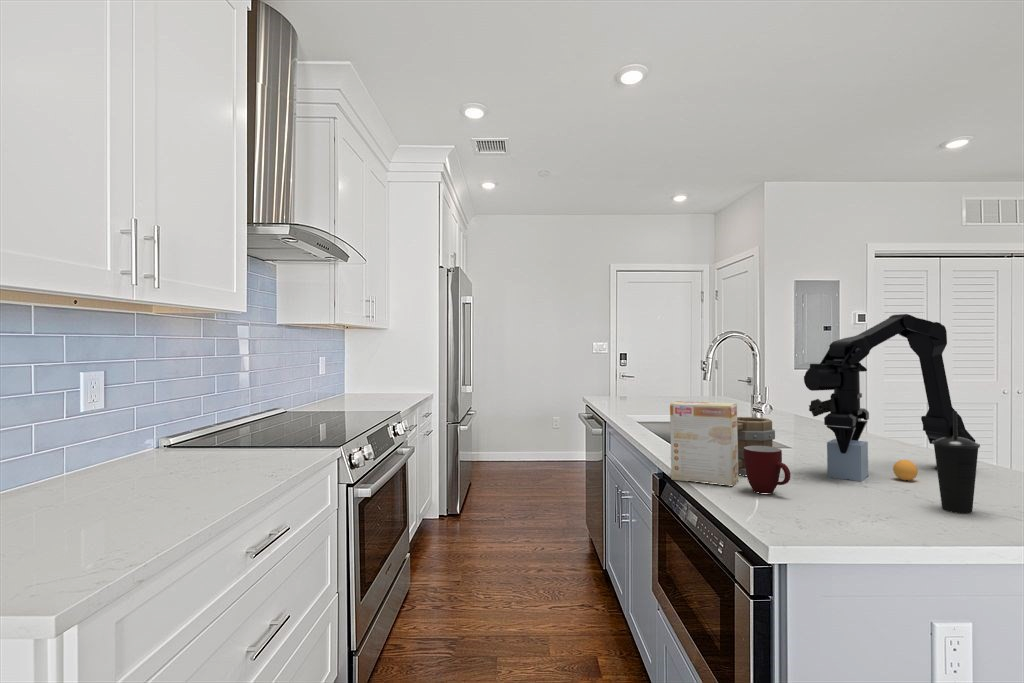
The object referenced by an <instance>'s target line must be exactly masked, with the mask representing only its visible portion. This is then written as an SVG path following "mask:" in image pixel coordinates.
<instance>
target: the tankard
mask: <svg viewBox="0 0 1024 683" xmlns="http://www.w3.org/2000/svg"><path fill="white" fill-rule="evenodd" d="M737 436H738V474H741V475H740V476H742V475H747V474H746V468H745V463H744V447H746V446H769V447H773V440H775V439H776V430H775V429H773V421H772V420H771V419H769V418H765V417H755V416H737Z"/></svg>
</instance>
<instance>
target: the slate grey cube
mask: <svg viewBox="0 0 1024 683" xmlns="http://www.w3.org/2000/svg"><path fill="white" fill-rule="evenodd" d="M826 452H827V453H826V454H827V455H826V456H827V457H826V460H827V470H826V471H827V478H832V477H834V478H833V479H839V478H841V480H847V479H850V480H849V481H854V480H857V481H856V482H861V481H862V480H863V479H864V480H866V479H867V478H868V477H869V441H866V440H865V441H864V440H858V441H855V440H851V442H850V444H849V447H848V450H847V452H846V453H845V454H843V453H841V452H840V449H839V446H838V443H837V439H836V438H834V439H831V440H829V441H826ZM867 476H868V477H867ZM866 477H867V478H866ZM864 480H863V481H864ZM863 481H862V482H863Z"/></svg>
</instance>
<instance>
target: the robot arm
mask: <svg viewBox="0 0 1024 683" xmlns="http://www.w3.org/2000/svg"><path fill="white" fill-rule="evenodd" d="M898 335H899V336H901V337H902V338H905V339H907V342H908V344H909V347H910V349H911V350H912V351H913V352H914V353H915V354H916V355H917V356H918V359H919V364H920V369H921V375H922V379H923V384H924V390H925V396H926V400H927V404H928V405H927V407H928V410H927V411H926V414H925V415H921V418H920V419H921V423H922V431H924V432H925V435H926V436H927V439H928V442H929V444H931V445H933V444H932V441H933V440H937V439H939V438H942V437H949V436H953V411H956V410H955V408H954V407H953V405H952V400H951V395H950V389H949V386H948V385H949V384H948V378H947V374H946V369H945V363H944V358H943V353H944V351H945V349H946V346H947V345H948V336H947V335H948V334H947V328H946V326H945V325H943V324H942V323H940V322H938V321H931V320H927V319H923V318H919V317H916V316H914V315H912V314H908V313H903V314H902V313H901V314H893V315H890V316H889V317H888V318H886V319H885V320H883V321H881V322H880V323H878V324H875V325H874V326H872V327H870V328H868V329H866V330H864V331H862V332H861V333H859V334H857V335H854V336H848V337H843V338H841V339H837V340H833V341H832V342H831V343H830V344H829V348H828V350H827V352H826V353H825V355H824V357H823V358H822V360H821V362H820V363H810V364H809V369H807V370H806V372H805V374H804V376H803V382H804V385H805V387H806V388H807V389H808V390H809V391H815V392H817V391H833V393H831V394H830V399H827V400H821V399H819V398H816V399H813V400H811V401H810V404H808V407H809V408H808V411H809V412H811V414H812V417H814V418H815V417H818V416H820V415H823V414H826V415H825V416H824V417H823V420H824V425H825V426H826V428H828V429H829V430H830V431H832V432H833V434H834V436H835V439H837V443H838V446H839V449H840V452H841V453H843V454H845V453H846V452H847V450H848V447H849V444H850V442H851V440H855V441H860V438H861V435H862V433H863V431H864V430H865V427H866V425H867V424H868V420H870V412H869V411H868V410H867V409H866V408H861V398H862V397H863V393H862V392H861V387H860V386H861V382H860V381H861V380H860V377H861V376H860V372H862V373H863V372H867V371H868V369H867V368H866V367H865V366H864V365H863V364H861V361H863V360H864V359H865V358H866V357H867V356H869V354H870V353H871V350H873V348H875V347H877V346H878V345H881V344H882V343H884V342H886V341H888V340H890V339H891V338H893V337H895V336H898ZM957 433H958V437H962V438H966V439H969V440H971V441H973V442H975V443H976V439H975V438H974V437H973V436H972V434H970V432H969V431H968V430H967V429H966V427H965V425H964V421H963V418H962V417H961V415H960V414H959V413H958V412H957ZM934 469H935V470H937V465H936V466H934Z"/></svg>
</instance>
